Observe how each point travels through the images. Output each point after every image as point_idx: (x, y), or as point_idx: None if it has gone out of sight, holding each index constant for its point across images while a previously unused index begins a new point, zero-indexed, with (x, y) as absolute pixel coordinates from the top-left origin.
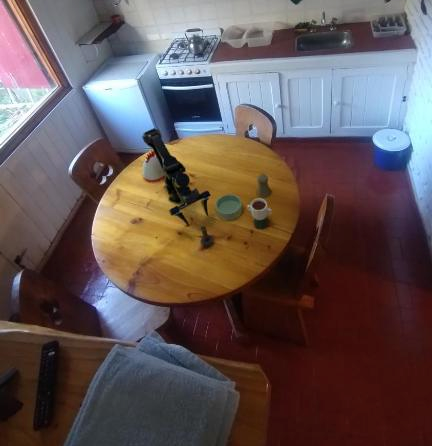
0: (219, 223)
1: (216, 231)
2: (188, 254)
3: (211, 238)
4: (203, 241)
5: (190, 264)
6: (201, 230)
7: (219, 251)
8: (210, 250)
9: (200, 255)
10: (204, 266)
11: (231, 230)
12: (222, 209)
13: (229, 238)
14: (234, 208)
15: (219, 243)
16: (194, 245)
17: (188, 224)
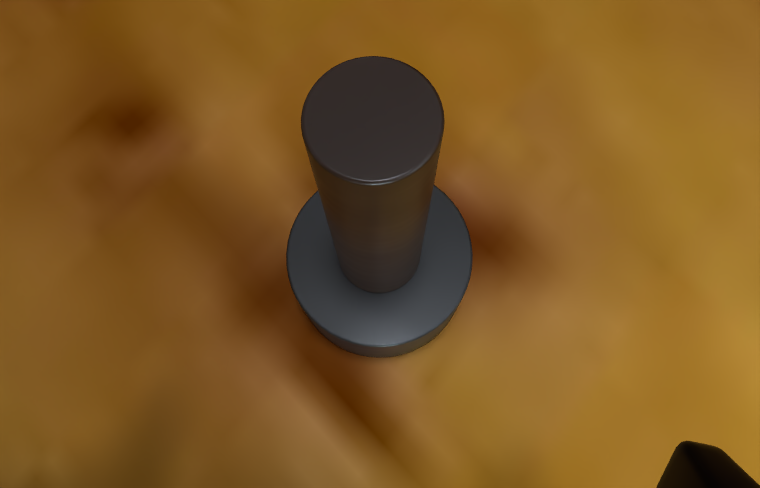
0: (16, 409)
1: (158, 326)
2: (701, 318)
3: (314, 204)
4: (439, 254)
5: (753, 176)
6: (442, 124)
7: None
8: None
9: (575, 186)
10: (622, 39)
11: (17, 183)
12: None
13: (134, 112)
14: None
15: (275, 146)
16: (550, 376)
17: (723, 484)
